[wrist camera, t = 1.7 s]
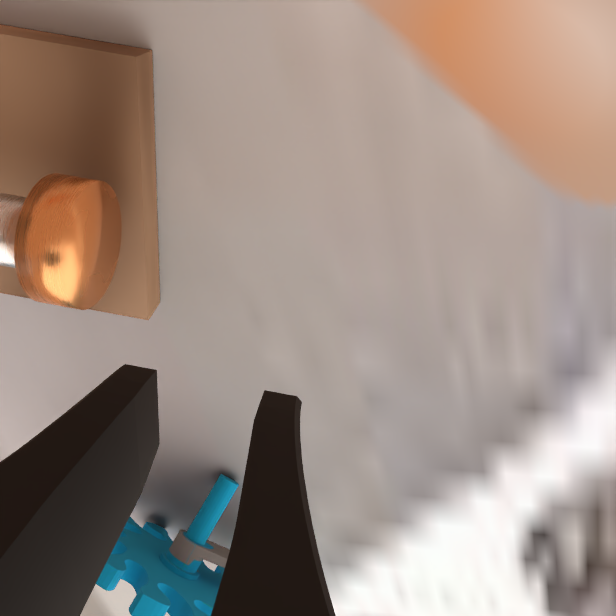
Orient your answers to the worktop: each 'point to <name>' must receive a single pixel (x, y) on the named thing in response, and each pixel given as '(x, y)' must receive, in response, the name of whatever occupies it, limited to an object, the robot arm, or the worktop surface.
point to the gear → (172, 562)
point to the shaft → (62, 239)
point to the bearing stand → (85, 143)
